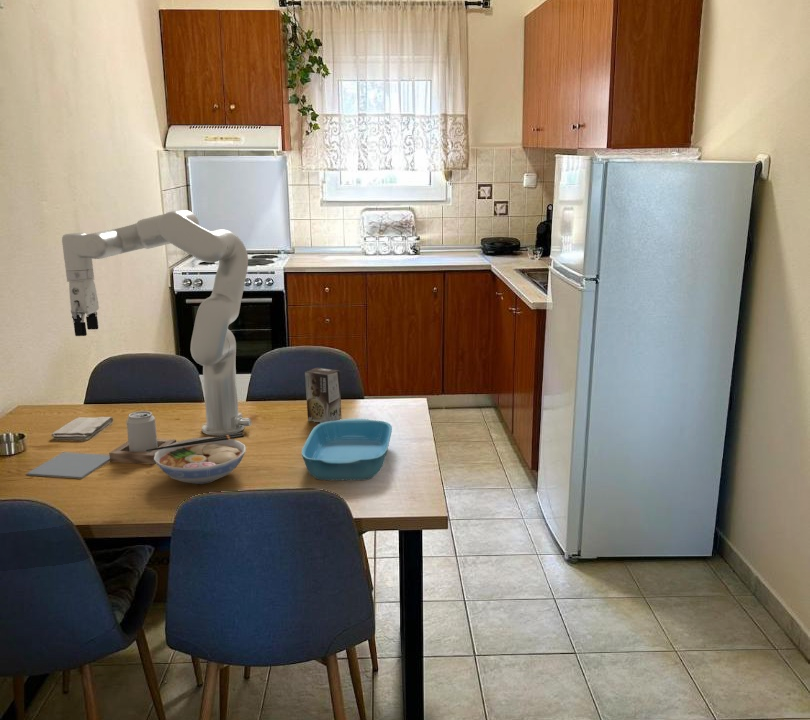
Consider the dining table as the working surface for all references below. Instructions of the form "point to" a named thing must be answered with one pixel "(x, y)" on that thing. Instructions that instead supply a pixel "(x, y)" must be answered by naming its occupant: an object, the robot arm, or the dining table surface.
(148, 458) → the shallow wooden tray
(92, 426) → the washcloth
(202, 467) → the ramen bowl
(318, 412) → the coffee box
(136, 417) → the can
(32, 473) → the grey mat
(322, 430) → the casserole dish
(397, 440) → the dining table surface
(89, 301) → the robot arm
